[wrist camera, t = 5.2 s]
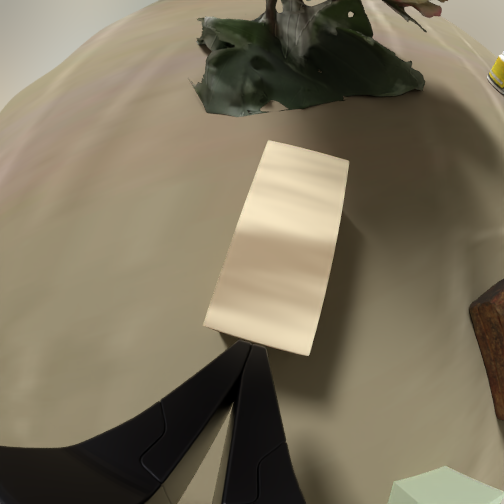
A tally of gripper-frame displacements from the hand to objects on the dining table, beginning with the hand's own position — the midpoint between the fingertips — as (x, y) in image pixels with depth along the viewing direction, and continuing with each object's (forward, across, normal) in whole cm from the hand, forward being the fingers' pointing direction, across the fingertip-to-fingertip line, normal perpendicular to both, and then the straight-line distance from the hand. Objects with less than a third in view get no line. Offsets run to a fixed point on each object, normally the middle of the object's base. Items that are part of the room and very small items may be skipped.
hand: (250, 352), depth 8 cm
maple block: (+4, 0, +3) cm, 5 cm away
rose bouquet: (+28, +4, -18) cm, 34 cm away
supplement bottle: (+38, -30, -28) cm, 56 cm away
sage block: (-1, -14, +11) cm, 18 cm away
